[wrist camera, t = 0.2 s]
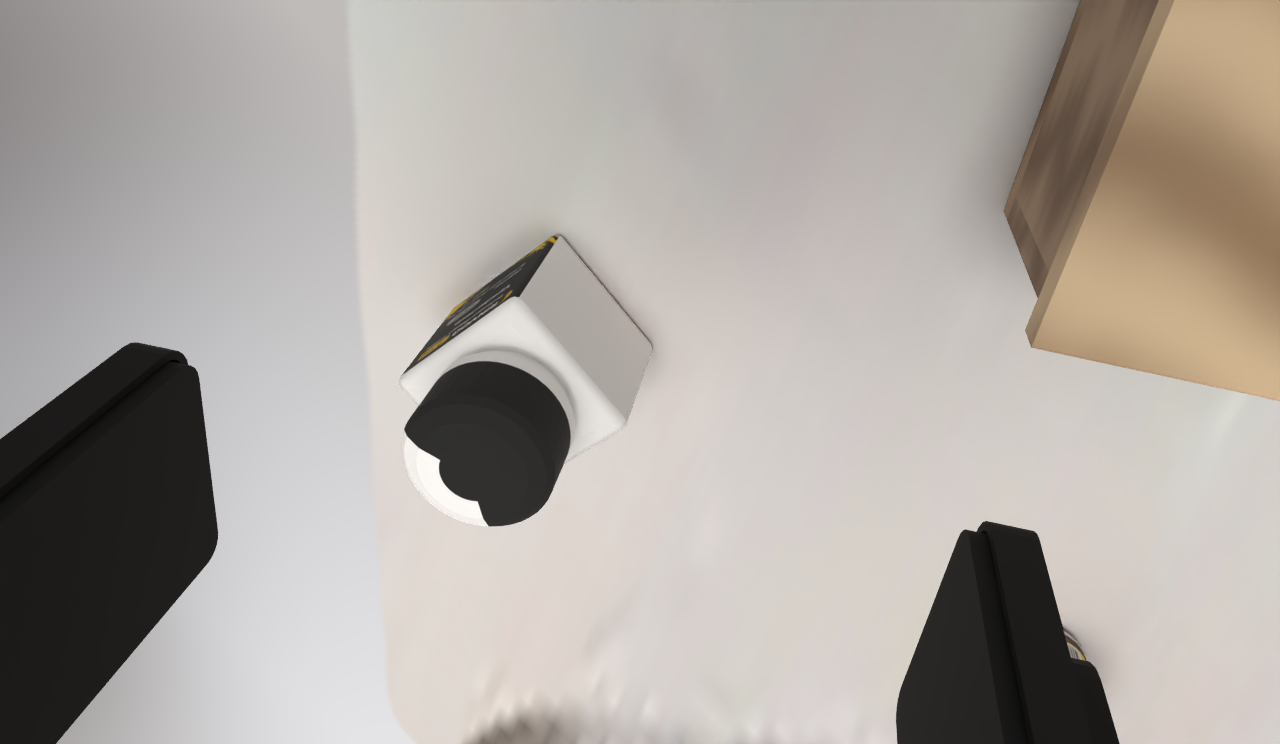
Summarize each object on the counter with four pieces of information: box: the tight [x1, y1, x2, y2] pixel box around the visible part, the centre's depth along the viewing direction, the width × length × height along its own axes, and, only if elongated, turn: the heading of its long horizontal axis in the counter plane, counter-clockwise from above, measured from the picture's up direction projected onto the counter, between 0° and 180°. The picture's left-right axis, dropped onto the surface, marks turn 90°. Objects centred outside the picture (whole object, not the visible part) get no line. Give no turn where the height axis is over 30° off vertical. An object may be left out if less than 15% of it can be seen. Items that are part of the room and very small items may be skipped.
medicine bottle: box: [399, 235, 652, 526], centre depth 42 cm, size 7×7×12 cm
